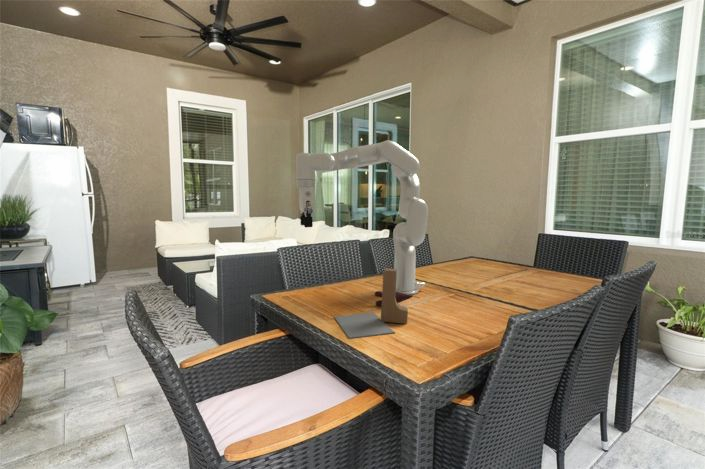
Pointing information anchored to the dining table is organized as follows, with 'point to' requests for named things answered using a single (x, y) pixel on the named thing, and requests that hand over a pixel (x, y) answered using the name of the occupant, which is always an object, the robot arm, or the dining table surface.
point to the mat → (363, 325)
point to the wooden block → (391, 299)
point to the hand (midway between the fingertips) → (306, 226)
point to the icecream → (398, 296)
